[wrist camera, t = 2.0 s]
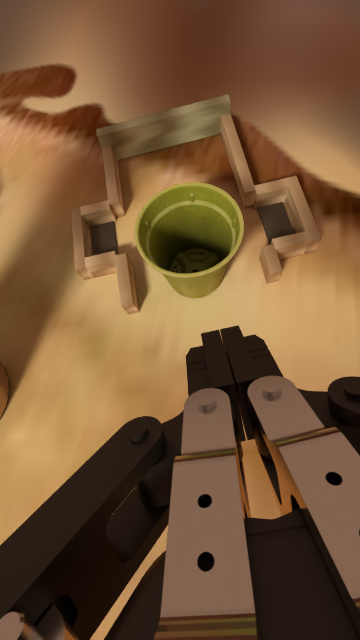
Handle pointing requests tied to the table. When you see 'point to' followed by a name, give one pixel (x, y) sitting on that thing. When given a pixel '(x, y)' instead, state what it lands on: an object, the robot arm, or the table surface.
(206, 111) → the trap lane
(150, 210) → the plant pot
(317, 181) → the table surface
